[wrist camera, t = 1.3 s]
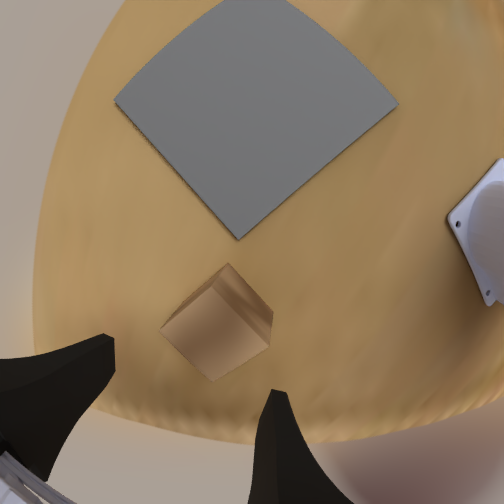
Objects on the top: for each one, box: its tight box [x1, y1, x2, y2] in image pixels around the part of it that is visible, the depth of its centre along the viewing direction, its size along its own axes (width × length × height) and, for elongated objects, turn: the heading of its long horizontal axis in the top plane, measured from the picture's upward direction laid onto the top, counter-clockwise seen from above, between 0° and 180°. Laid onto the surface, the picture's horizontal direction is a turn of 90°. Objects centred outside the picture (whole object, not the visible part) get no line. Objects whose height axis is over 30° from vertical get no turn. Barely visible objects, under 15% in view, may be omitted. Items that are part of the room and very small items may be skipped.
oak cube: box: [159, 263, 273, 382], centre depth 17 cm, size 5×5×5 cm
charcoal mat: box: [113, 0, 399, 240], centre depth 16 cm, size 14×14×1 cm
